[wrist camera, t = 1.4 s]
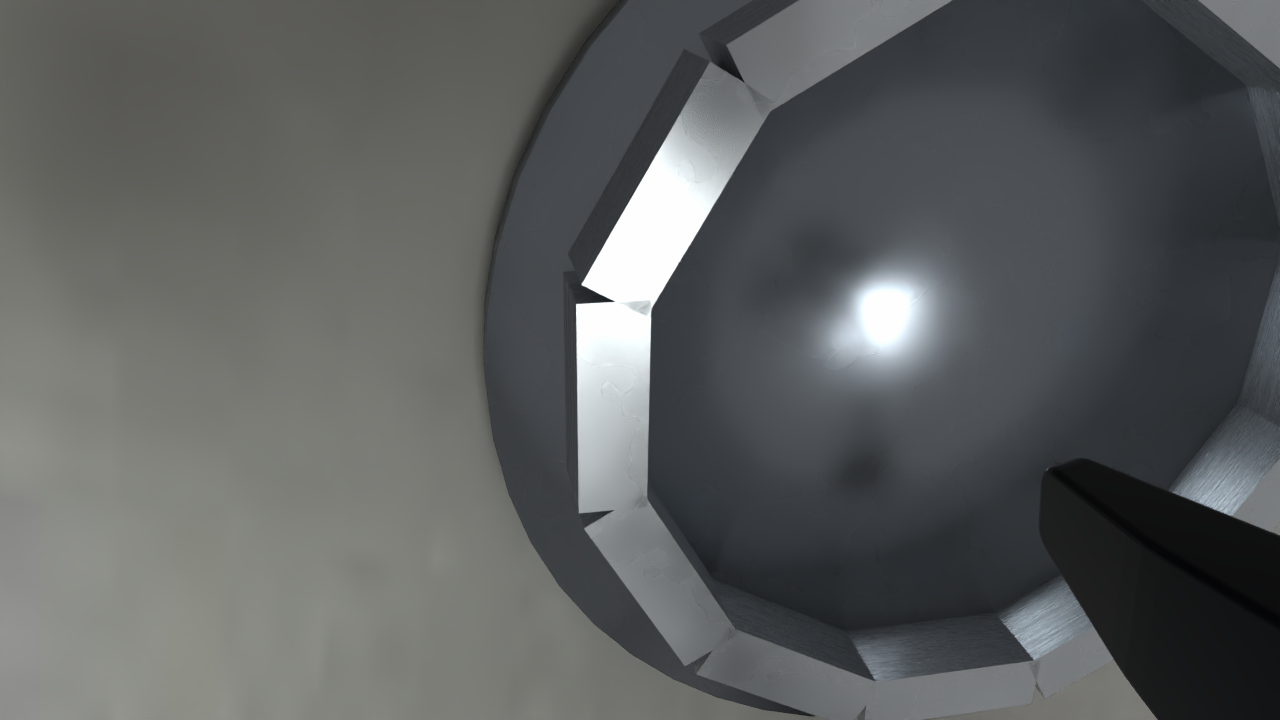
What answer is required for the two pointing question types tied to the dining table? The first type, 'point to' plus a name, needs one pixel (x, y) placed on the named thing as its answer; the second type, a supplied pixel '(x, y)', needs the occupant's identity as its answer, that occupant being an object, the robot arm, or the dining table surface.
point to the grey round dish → (882, 327)
